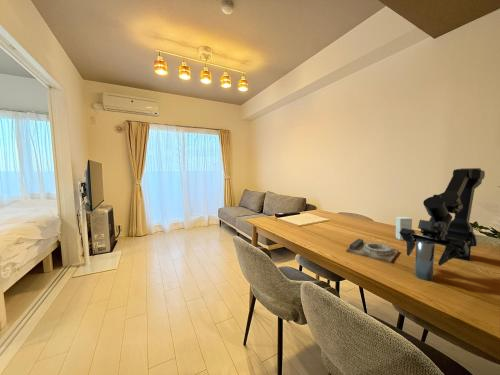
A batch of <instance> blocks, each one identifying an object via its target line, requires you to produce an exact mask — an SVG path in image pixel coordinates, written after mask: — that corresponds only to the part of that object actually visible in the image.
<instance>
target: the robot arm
mask: <svg viewBox="0 0 500 375" xmlns="http://www.w3.org/2000/svg"><path fill="white" fill-rule="evenodd" d="M485 175H486V171H485V170H483V169H481V168H480V167H477V168H476V167H475V168H474V167H470V168H467V167H466V168H465V167H464V168H461V167H460V168H457V169H456V168H455V169H453V171H452V177H451V178H450V181H449V182H448V184H447V187H446V188H445V190H444V192H442V193H440V194H433V195H432V196H430V197H427V198H425V199H424V200H423V203H422V204H423V206H424V209H425V210H426V213H427V214H428V216H430V218H429V220H424V219H420V220H419V221H418V226H417V229H418V230H419V229H420V230H419V232H420V234H418V233H416V232H415V230H414V229H413V228H412V229H407V228H402V229H401V230H400V232H399V233H400V234H401V236H402V238H403V239H404V240H403V241H405V242H406V255H407V256H408V257H410V255H411V254H412V252H413V251H414V248H416V240H427V241H431V242H434V243H435V245H439V246H445V248H444V251H443V253H441V256H440V258H439V259H438V263H437V264H438V266H442V265H444V264H446V263H447V262H448V261H450V260H452V259H454V258H455V259H459V260H460V259H461V260H464V261H465V260H466V261H469V262H470V261H472V260H471V250H472V249H471V247H477V246H478V244H477V243H478V242H477V238H476V234H475V232H474V228H473V226H472V224H471V223H470V219H471V213H472V207H473V206H472V205H473V200H474V195H475V189H477V188H478V187H479V186H481V185H482V182H483V180H484V179H485V177H486V176H485ZM452 214H454V218H453V216H452ZM444 237H445V239H446V240H443V239H444Z"/></svg>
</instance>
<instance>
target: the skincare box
mask: <svg viewBox="0 0 500 375" xmlns="http://www.w3.org/2000/svg"><path fill="white" fill-rule="evenodd" d="M412 225H413V218H412V217H408V216H395V238H396V239H397V240H399V241H405V240H404V239H403V238H402V236H401V234H400V233H399V232H400V230H401V229H402V228H407V229H412V230H413V228H412V227H413V226H412Z"/></svg>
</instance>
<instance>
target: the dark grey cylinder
mask: <svg viewBox="0 0 500 375" xmlns="http://www.w3.org/2000/svg"><path fill="white" fill-rule="evenodd" d="M415 244H416V245H415V259H414V260H415V264H414V277H416V278H418V279H420V280H423V281H427V282H428V281H433V280H434V265H435V245H436V244H435V243H434V242H431V241H427V240H418V239H417V240H416V242H415Z"/></svg>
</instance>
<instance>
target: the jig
mask: <svg viewBox="0 0 500 375" xmlns="http://www.w3.org/2000/svg"><path fill="white" fill-rule="evenodd" d="M345 250H346V251H345V252H346V253H350V254H355V255H358V256H362V257H366V258H369V259H373V260H377V261H381V262H386V263H388V264H389V263H390V264H391V263H392V262H393V261H394V259H395V258H396V257H397V255H398V253H399V252H400V249H398V248H397V249H396V248H393V247H390V246H389V245H387V244H384V243H379V242H378V243H377V242H364V239H363V238H362V239H361V238H357V239H356V240H354V241H353V242H352V243H350V244H349V247H348V248H347V249H345Z"/></svg>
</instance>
